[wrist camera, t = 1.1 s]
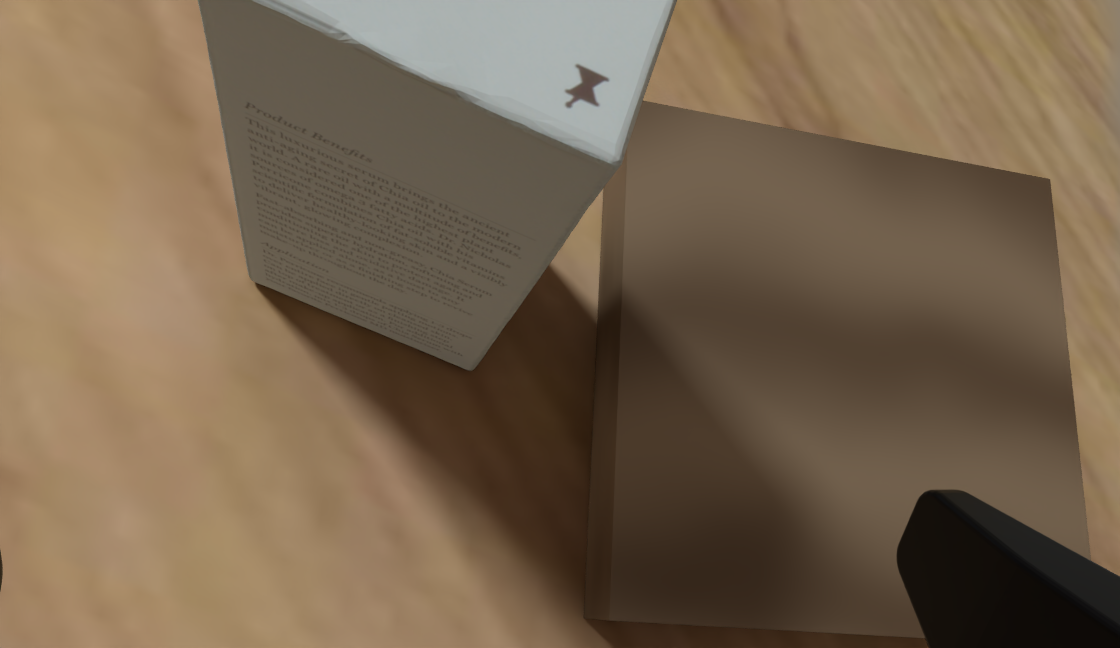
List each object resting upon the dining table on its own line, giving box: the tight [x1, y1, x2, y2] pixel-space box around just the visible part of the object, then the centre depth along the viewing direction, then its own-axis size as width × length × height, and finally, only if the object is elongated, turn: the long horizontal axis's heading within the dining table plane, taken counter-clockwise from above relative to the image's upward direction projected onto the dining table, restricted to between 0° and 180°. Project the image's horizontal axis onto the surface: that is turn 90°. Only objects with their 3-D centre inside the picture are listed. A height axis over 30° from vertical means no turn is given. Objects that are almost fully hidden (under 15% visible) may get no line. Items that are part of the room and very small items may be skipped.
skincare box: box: [198, 0, 677, 371], centre depth 18 cm, size 6×4×12 cm
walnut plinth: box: [584, 101, 1091, 638], centre depth 25 cm, size 13×13×2 cm
